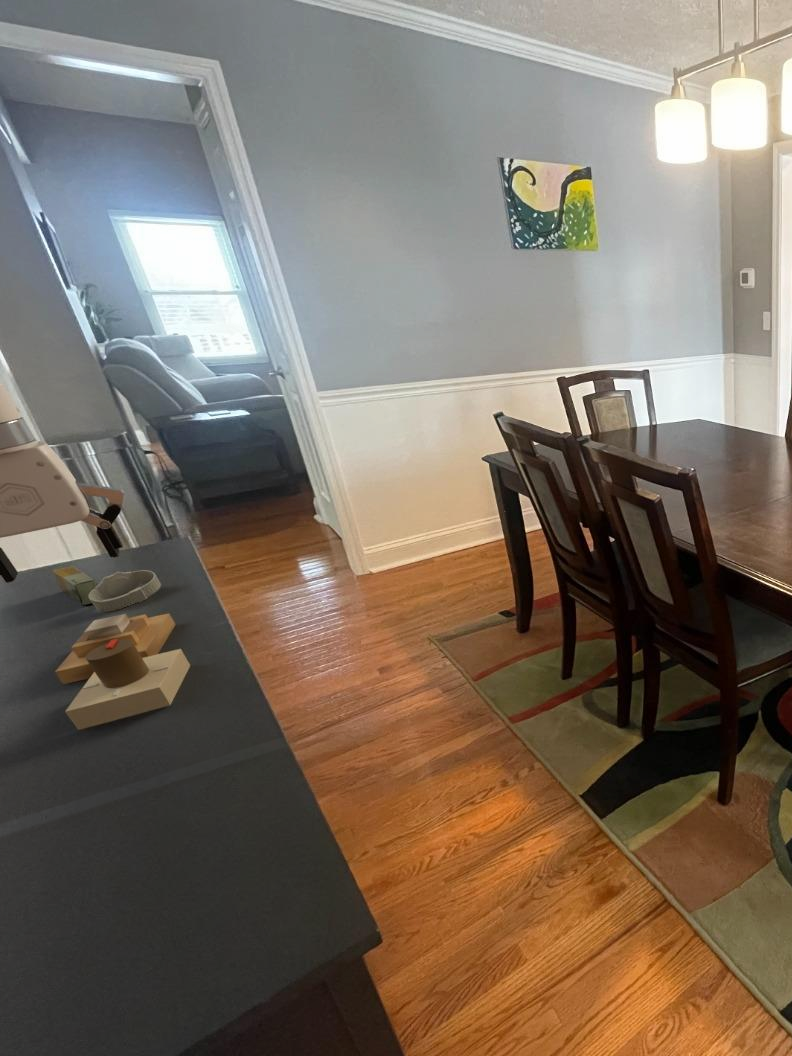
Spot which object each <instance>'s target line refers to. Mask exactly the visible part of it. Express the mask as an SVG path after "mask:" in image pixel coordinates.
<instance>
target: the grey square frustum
mask: <svg viewBox="0 0 792 1056" xmlns="http://www.w3.org/2000/svg"><path fill="white" fill-rule="evenodd" d="M128 618H129V617H128V615H127V614H126V613H122V614H118V615H113V616H109V617H104V618H99V619H95V620H93V621H92V622H91V623H90V624H89V625H88V627H87V628H86V629H85V630H84V631H83V633H85V634H86V636H87V637H88V639H89V640H94V639H98V638H102V637H107V636H111V635H116V634H120V633H124V631H125V630H126V629H127V627H128V626H129V625H130V623H131V622H130V621H129V619H128Z"/></svg>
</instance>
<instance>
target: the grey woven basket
mask: <svg viewBox="0 0 792 1056" xmlns="http://www.w3.org/2000/svg"><path fill="white" fill-rule="evenodd" d="M143 584H144V585H143ZM140 585H142V586H140ZM161 586H162V584H161V582H160V580H159V578H158V577H157V575H156V573H155V572H154V571H152V570H148V569H141V570H135V571H126V572H120V571H116V572H114V573H113V574H110V575H108V576H104V577H102V578H101V580H100V582H99V583H98V584H97V586H96V587H95V588H96V589H93V590H92V591H91V592H90V593H89V596H88V597H89V599H90V600H91V602H92V603H93V604H92V605H93V607H94V608H95V610H97V611H98V612H103V613H108V612H116V611H118V610H117V609H119V610H123V609H125V608H124V607H126V608H128V607H127V606H129V607H131V606H133V605H132V604H134V605H136V604H137V603H136V602H140V603H142V602H144V601H143V600H145V601H147V600H148V599H147V598H149V597H151V596H152V595H154V594H156V592H158V591H159V590H160V589H161ZM146 599H147V600H146ZM141 601H142V602H141ZM135 603H136V604H135ZM130 605H131V606H130ZM122 608H123V609H122Z"/></svg>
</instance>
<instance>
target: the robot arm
mask: <svg viewBox="0 0 792 1056" xmlns="http://www.w3.org/2000/svg"><path fill="white" fill-rule="evenodd" d="M37 440H38V439H36V437H35V436H34V434H33V432H32V429H31V428H30V427H29V425H28V423H27V421H26V420H25V418H24V417H23V415H22V413H21V412H20V410H19V408H18V406H17V405H16V403H15V401H14V400H13V398H12V396H11V394H10V393H9V391H8V390H7V387H6V386H5V384H4V383H3V381H2V379H0V539H1V538H6V537H12V536H16V535H17V536H18V535H22V534H27V533H32V532H37V531H41V530H46V529H47V530H48V529H51V528H55V527H61V526H66V525H70V524H75V523H78V522H85V523H86V524H89V525H92V526H94V527H95V528H96V531H95V534H96V535H97V537H98V539H99V540H100V542H101V544H102V545H103V547H104V549H105V550H106V552H107V554H108V555H109V557H110V558H119V555H120V549H122V548H123V547H124V545H123V542H122V540H121V538H120V537H119V535H118V534H117V532H116V529H115V528H114V526H113V523H114V522H115V521H116V519H117V518H118V516H119V515H120V514H121V512H122V508H123V500H124V496H125V491H124V489H122V488H120V487H119V488H118V487H112V486H111V487H110V486H104V485H97V484H91V483H90V484H89V483H82V482H78V481H77V480H76V478H75V477H74V475H73V474H72V472H71V470H69V468H68V467H67V466H66V464H65V463H64V461H63V460H62V459H61V458H60V457H59V455H58V454H57V452H56V451H54V450H53V448H52V447H51V446H50V445H49V444H48V443H47V442H46V441H44V440H38V441H37ZM88 496H91V497H98V498H105V499H107V500H108V506H107V507H106V508H105V510H104V512H101V511H99V510H96V509H93V508H92V507H91V503H90V500H89V498H88ZM18 574H19V571H18V570H17V568H16V567H15V566H14V564H13V563H12V561H11V560H10V558H9V557H8V555H7V554H6V552H5V551H4V549H3V548H2V547H1V546H0V576H1V578H2V579H3V581H4V582H5V583H13V582H14V581H15V580H16V579H17V576H18Z"/></svg>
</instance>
